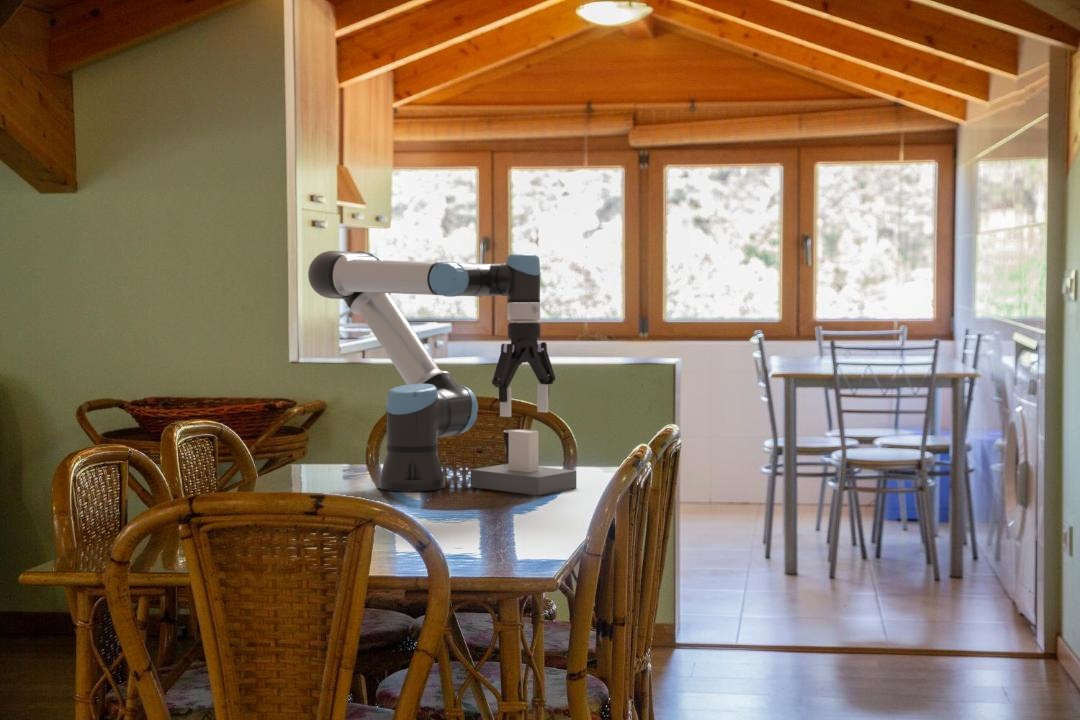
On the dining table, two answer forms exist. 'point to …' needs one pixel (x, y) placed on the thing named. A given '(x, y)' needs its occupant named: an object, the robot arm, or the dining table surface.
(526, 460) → the plug
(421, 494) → the dining table surface
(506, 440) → the coffee mug
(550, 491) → the header
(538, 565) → the dining table surface
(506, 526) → the dining table surface
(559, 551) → the dining table surface
